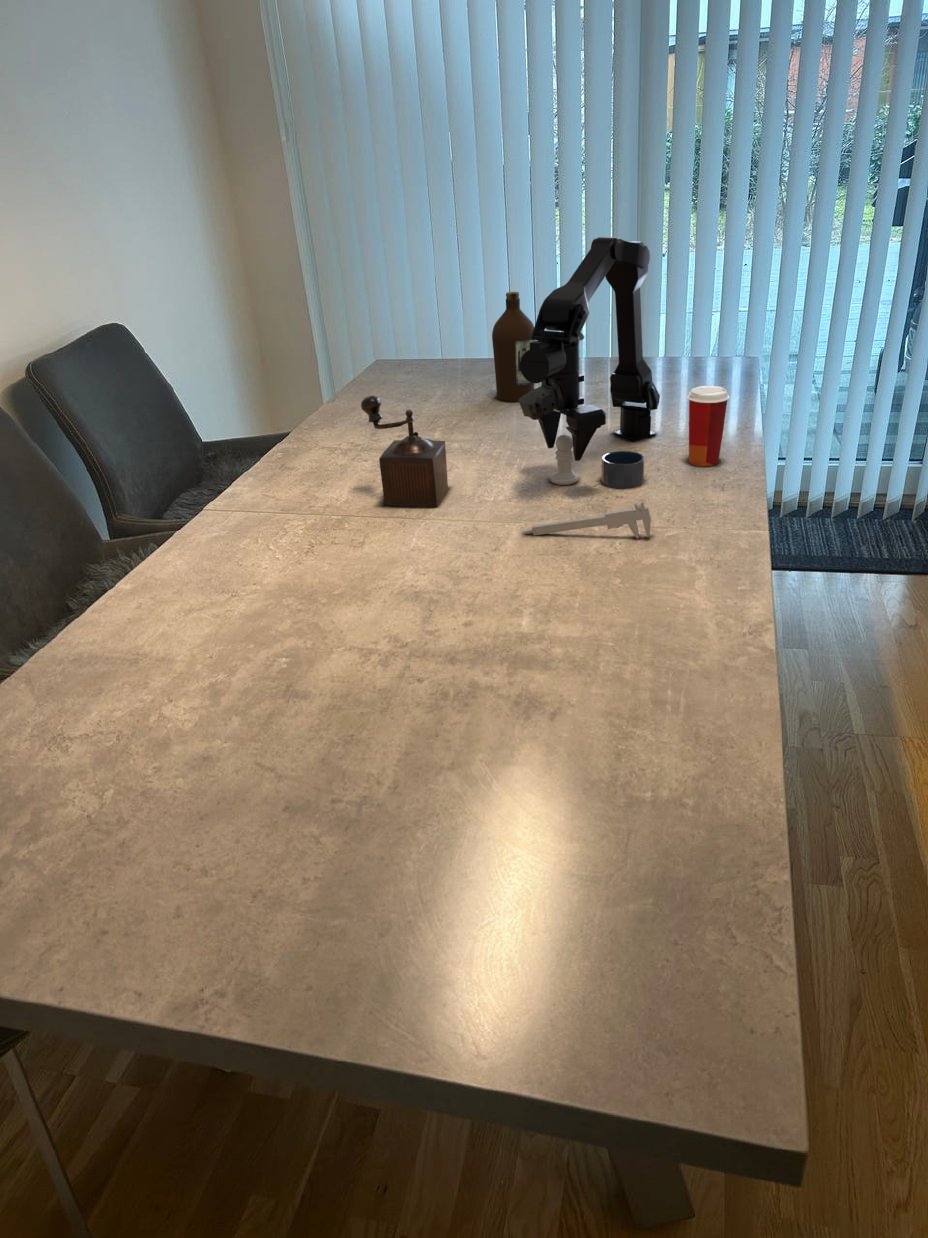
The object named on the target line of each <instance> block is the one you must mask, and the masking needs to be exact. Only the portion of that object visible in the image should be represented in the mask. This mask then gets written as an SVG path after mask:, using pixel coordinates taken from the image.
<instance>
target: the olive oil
mask: <svg viewBox="0 0 928 1238" xmlns="http://www.w3.org/2000/svg"><path fill="white" fill-rule="evenodd" d="M534 327H535V324H534V323H533V322H532V320H531V319H530V318H529V317H528V316H527V315H526V314H525V313H524V312H523V311H522V309H521V298H520V292H519V291H508V292H506V293H505V310H504V312H503V313H501V315H500V316H499V318H498V319H497V320H496V322H495V323H494V325H493V328H492V332H491V341H492V351H493V353H492V354H493V361H494V363H493V364H494V373H495V374H494V375H495V386H496V387H495V389H496V398H497V400H499V401H502V402H507V403H519V399H520V398H521V397H523V396H524V395H526V394H527V393H529V392H531V391H532V390H534V389H535V383H531V382H529V381H528V380H526V379H525V378H524V376H523V375H522V373H521V370H520V362H521V358H522V356H523V354H524V353H525V352H526V351H528V350H530V342H532V341H537V340H532V339H531V337H532V333H533V330H534Z"/></svg>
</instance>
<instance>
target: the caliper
mask: <svg viewBox="0 0 928 1238" xmlns="http://www.w3.org/2000/svg"><path fill="white" fill-rule="evenodd" d="M633 505H634V508H633V507H630V508H624V509H618V510H611V511H606V512H605V514H602V515H593V516H588V517H581V518H574V519H566V520H560V521H552V522H546V523H540V524H533V525H532V527H531V528H527V529H526V530H525V531H524V534H526V535H528V534H532V535H533V536H541V535H548V534H555V533H560V532H567V531H573V530H574V531H575V530H582V529H588V528H589V529H590V528H595V527H602V526H606V527H607V529H608V530H612V529H619V528H620V527H623V526H624V525H627V526H628V527H629V529H630V530H631V532H632V534H633V535H634V537H635V538H636V539H639V538H640V533H639V526H638V521H642V524H643V527H644V531H645V536H646V538H649V537H650V536H651V524H652V517H651V512H650V509H649V506H645V504H644V500H641V502H640V504H638V503H637V501H634V503H633Z"/></svg>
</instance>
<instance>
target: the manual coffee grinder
mask: <svg viewBox="0 0 928 1238" xmlns="http://www.w3.org/2000/svg"><path fill="white" fill-rule="evenodd" d="M381 405H382V401H381V398H380V397H378V396H376V395H369V396H365V397H364V398H363V399H362V400H361V402H360V408H361V410H362V411H363V412H364V413H365V414H366V415H368V423H372V424H373V428H374V429H376V430H387V429H392V428H393V429H395V428H399V427H402V426H404V425H407V430H408V435H406V436H405V437H404V438H403V439H394V440H393V441H392V442H391V444H390V445H389V446H388V447H387V448H386V449H385V450H384V451H383V452H382V454H381V455H380V456H379V458H378V461H379V469H380V478H381V479H380V480H381V486H382V487H381V488H382V497H383V505H384V506H385V507H393V508H438V506H439V505H440V504H441V503H442V501H443V499H444V498H445V496H446V495H447V493H448V491H449V490H450V489H449V483H448V481H449V480H448V466H447V465H448V464H447V463H448V462H447V450H446V440H432V439H429V438H425V437H421V436H419V432H417V431H415V432H414V424H413V423H414V421H415V418H414V417H413V415H414V413H413V410H411V409H407V410H406V411H405V413H404V414H405V415H406V418H405V419H404V420H400V421H395V422H389V423H383V424H379V423H380V422H381V421H382V419H384V417H383V415H382V414H381V412H380V410H381Z"/></svg>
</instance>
